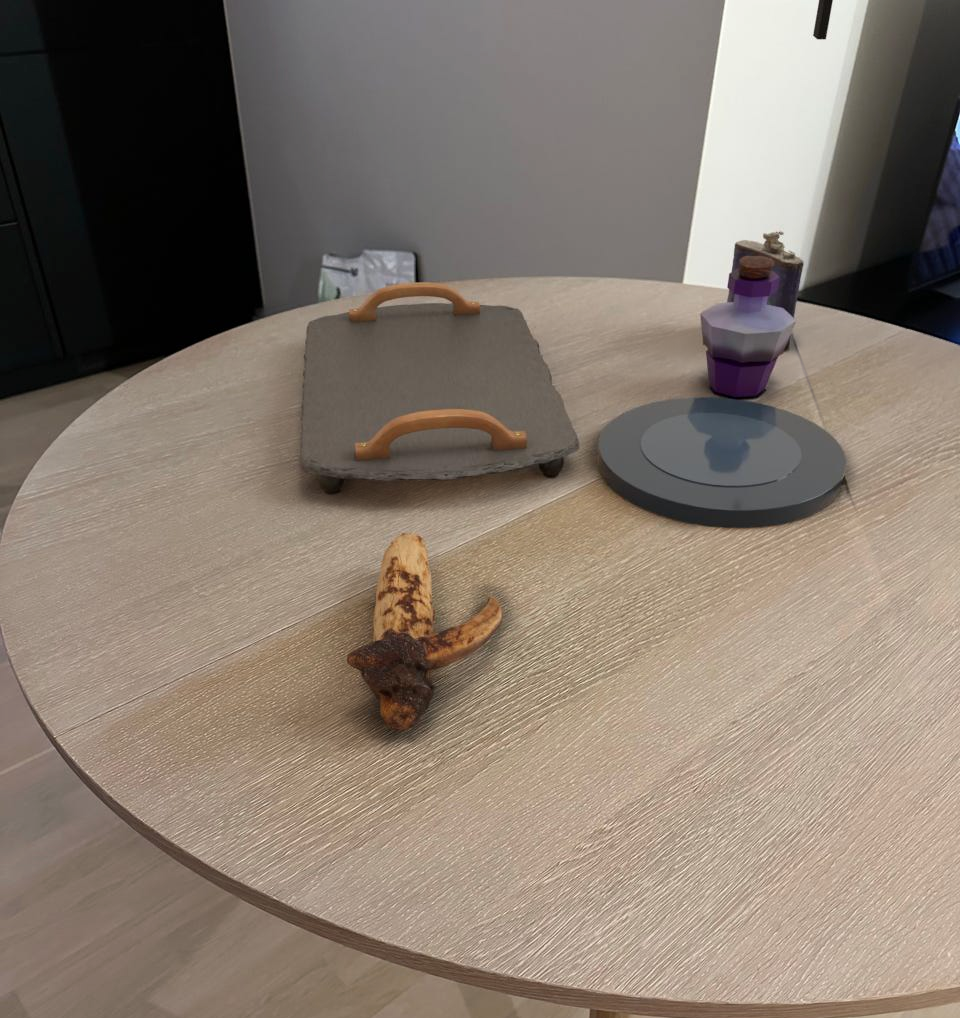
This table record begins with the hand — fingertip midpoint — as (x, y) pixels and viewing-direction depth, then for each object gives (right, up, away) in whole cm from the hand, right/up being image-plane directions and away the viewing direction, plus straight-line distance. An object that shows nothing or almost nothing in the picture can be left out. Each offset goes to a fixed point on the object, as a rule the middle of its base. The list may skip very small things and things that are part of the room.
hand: (895, 37), depth 89 cm
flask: (-9, -23, +14) cm, 29 cm away
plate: (-18, -41, -8) cm, 46 cm away
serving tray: (-43, -33, +2) cm, 55 cm away
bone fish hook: (-41, -56, -26) cm, 74 cm away
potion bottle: (-14, -32, +4) cm, 35 cm away
